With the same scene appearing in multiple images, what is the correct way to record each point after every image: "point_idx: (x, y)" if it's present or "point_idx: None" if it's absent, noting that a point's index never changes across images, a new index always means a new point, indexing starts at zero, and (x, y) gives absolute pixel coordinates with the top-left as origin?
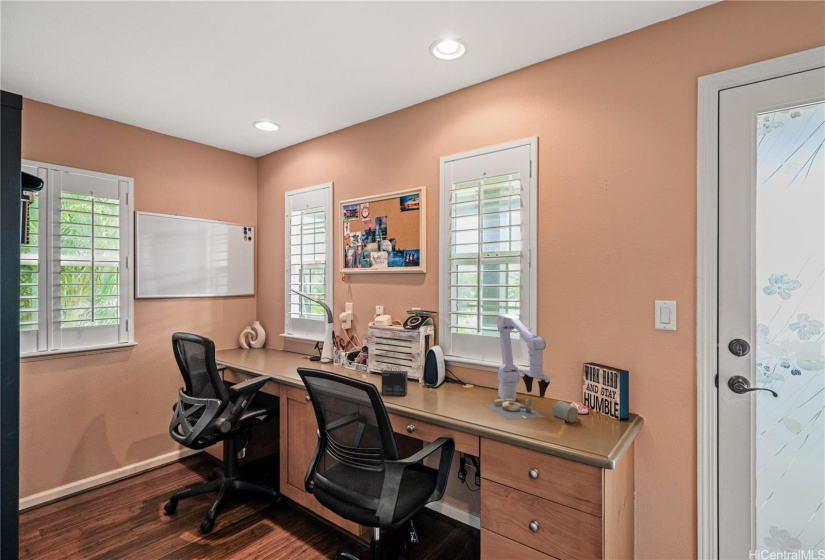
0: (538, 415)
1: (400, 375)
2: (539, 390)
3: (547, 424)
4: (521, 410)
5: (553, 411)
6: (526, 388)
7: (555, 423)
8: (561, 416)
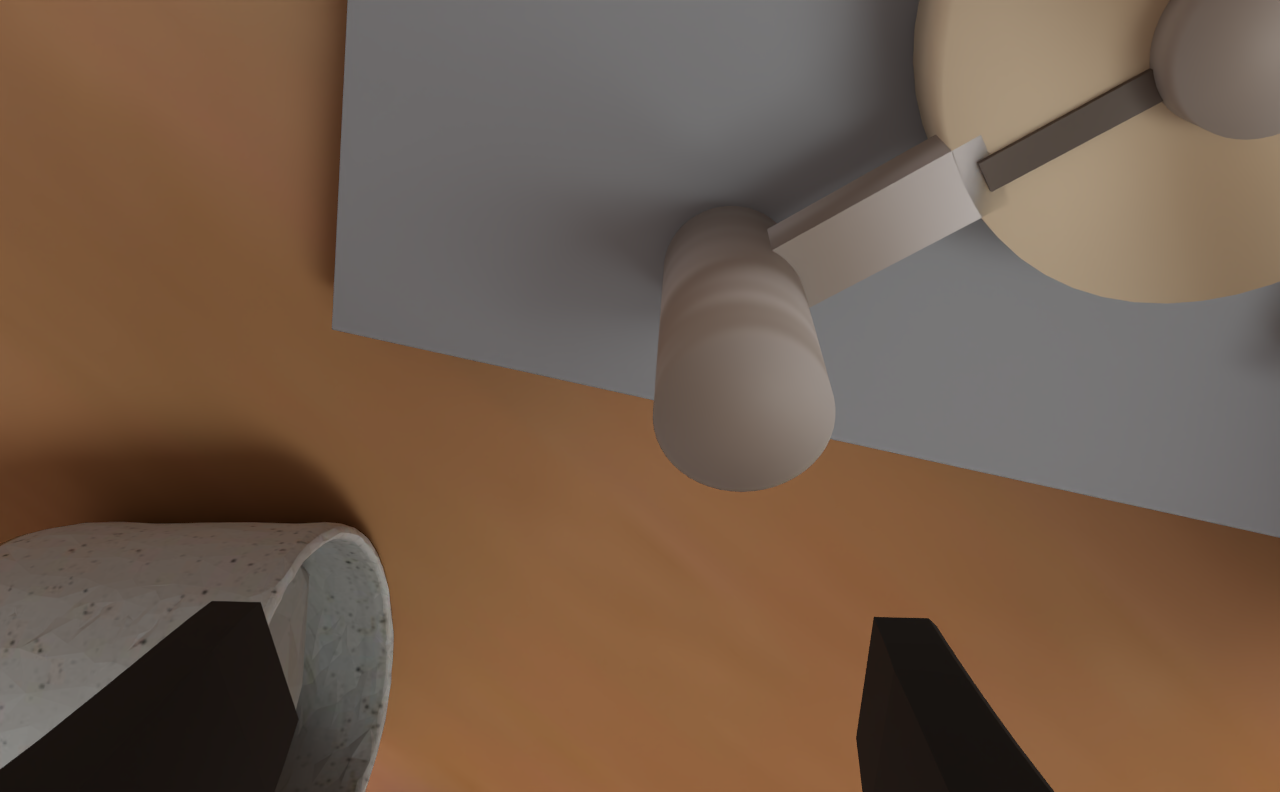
0: (441, 276)
1: None
2: (81, 787)
3: (119, 164)
4: None
5: (281, 555)
6: (986, 722)
7: (146, 342)
8: (130, 535)
